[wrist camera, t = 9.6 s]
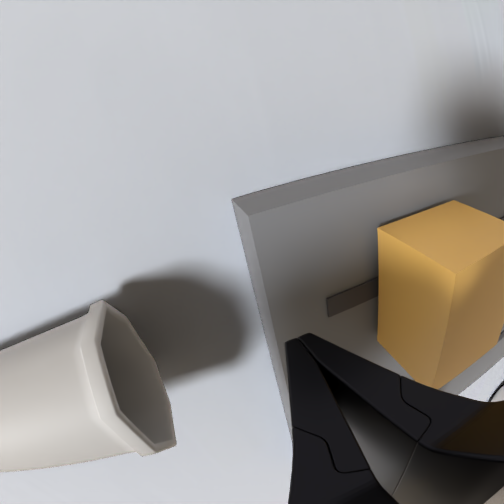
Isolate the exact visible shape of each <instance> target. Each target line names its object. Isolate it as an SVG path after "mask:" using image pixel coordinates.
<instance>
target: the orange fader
mask: <svg viewBox="0 0 504 504" xmlns="http://www.w3.org/2000/svg"><path fill="white" fill-rule="evenodd" d="M377 232H378V269H379V295H378V331H377V341H378V342H379V343H380V344H381V345H382V346H383V347H384V348H385V349H386V351H387V352H388V353H389V354H390V355H391V356H392V357H393V358H394V359H395V360H396V361H397V362H398V363H399V364H400V365H401V366H402V367H403V368H404V369H405V370H406V372H407V373H408V374H409V375H410V376H411V377H412V378H413V379H414V380H415V381H416V382H418V383H421V384H423V385H426V386H429V387H432V388H435V389H439V388H441V387H442V386H444V385H445V384H447V383H448V382H449V381H451V380H452V379H453V378H455V377H456V376H458V375H459V374H460V373H462V372H463V371H464V370H466V369H467V368H468V367H469V366H471V365H472V364H473V363H475V362H476V361H477V360H478V359H480V358H481V357H482V356H483V355H484V354H486V353H487V352H488V351H489V350H490V349H492V348H493V347H494V346H495V345H496V344H497V342H498V339H499V336H500V333H501V330H502V327H503V324H504V221H503V220H501V219H498V218H496V217H494V216H492V215H489V214H487V213H485V212H482V211H480V210H477V209H475V208H473V207H470V206H468V205H465V204H463V203H460V202H458V201H455V200H452V201H450V202H447V203H444V204H442V205H439V206H436V207H434V208H431V209H428V210H425V211H423V212H420V213H417V214H414V215H412V216H409V217H406V218H403V219H401V220H398V221H395V222H392V223H389V224H387V225H384V226H381V227H378V228H377Z"/></svg>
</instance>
